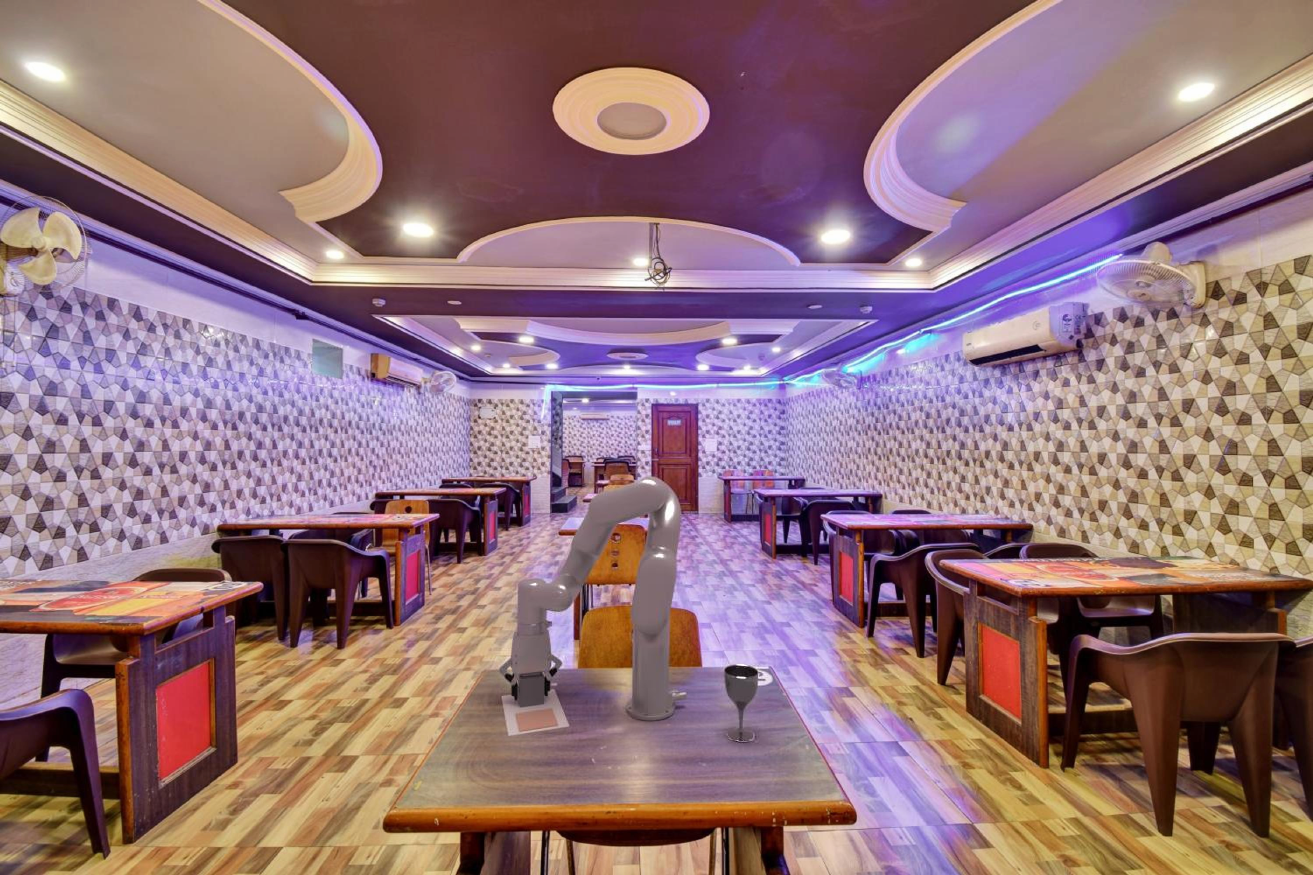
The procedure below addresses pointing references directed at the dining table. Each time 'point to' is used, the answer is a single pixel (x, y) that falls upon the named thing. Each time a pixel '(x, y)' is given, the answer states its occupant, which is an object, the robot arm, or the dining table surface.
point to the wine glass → (740, 695)
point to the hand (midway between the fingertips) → (530, 695)
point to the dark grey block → (531, 689)
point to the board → (533, 715)
